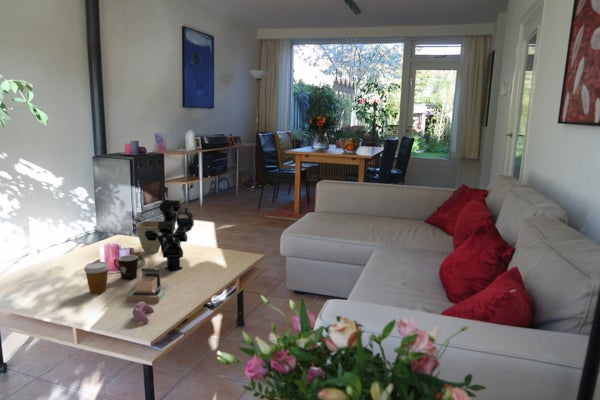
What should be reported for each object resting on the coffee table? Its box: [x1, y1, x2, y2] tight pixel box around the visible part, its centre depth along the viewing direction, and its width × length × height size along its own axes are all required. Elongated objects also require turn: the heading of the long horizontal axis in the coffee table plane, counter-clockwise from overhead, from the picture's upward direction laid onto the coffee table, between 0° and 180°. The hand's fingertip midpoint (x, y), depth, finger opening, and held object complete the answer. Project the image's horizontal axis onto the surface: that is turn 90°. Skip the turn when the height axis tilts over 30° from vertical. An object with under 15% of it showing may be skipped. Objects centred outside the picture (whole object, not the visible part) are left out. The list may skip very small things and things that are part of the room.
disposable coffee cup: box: [83, 261, 110, 295], centre depth 186 cm, size 10×10×12 cm
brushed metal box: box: [134, 267, 162, 296], centre depth 182 cm, size 9×8×10 cm
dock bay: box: [126, 288, 166, 304], centre depth 181 cm, size 9×13×3 cm
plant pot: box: [135, 220, 161, 255], centre depth 242 cm, size 15×15×16 cm
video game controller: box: [132, 301, 155, 324], centre depth 163 cm, size 10×5×7 cm, turn 6°
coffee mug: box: [113, 254, 139, 281], centre depth 203 cm, size 12×9×10 cm
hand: (162, 252), depth 200 cm, fingers closed
